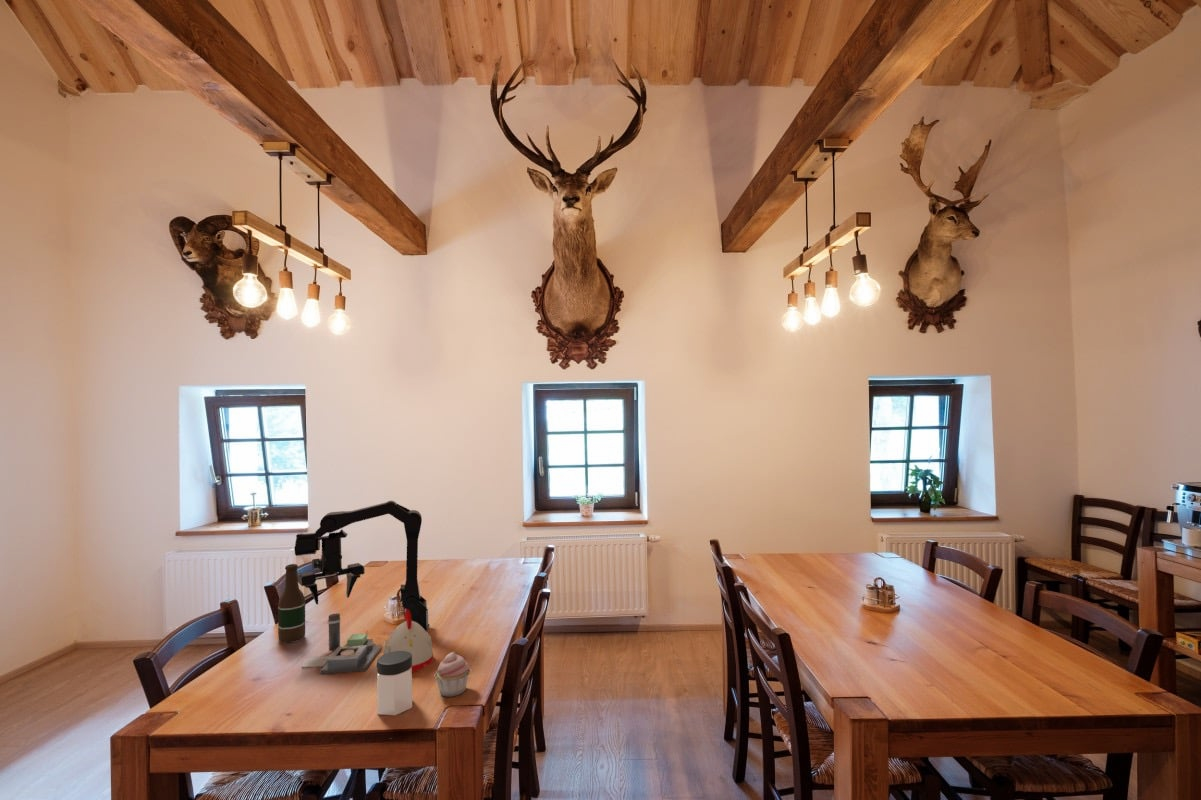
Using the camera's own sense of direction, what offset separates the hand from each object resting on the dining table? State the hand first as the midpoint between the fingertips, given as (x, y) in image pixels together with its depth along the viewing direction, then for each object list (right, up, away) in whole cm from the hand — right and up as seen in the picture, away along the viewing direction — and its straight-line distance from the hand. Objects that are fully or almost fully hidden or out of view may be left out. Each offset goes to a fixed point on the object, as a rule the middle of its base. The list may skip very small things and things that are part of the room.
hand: (332, 600), depth 179 cm
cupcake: (+49, -11, -36) cm, 61 cm away
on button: (+13, -9, -11) cm, 19 cm away
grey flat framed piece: (+13, -12, -16) cm, 24 cm away
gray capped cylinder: (+3, -13, -6) cm, 14 cm away
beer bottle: (-15, -14, +3) cm, 20 cm away
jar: (+36, -11, -43) cm, 58 cm away
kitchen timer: (+31, -12, -18) cm, 37 cm away
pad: (+3, -12, -17) cm, 21 cm away
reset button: (+14, -9, -20) cm, 26 cm away
